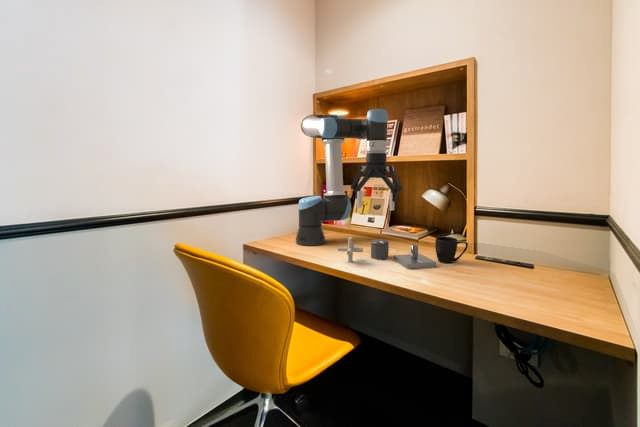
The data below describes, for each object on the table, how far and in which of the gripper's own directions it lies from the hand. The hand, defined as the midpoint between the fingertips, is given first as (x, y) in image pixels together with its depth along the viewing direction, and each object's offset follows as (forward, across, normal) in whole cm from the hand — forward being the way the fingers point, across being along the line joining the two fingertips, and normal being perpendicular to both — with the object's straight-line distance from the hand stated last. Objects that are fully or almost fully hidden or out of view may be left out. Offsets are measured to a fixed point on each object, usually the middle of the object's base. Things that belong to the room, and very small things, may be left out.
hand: (375, 208), depth 122 cm
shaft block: (+22, +12, +10) cm, 28 cm away
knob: (+22, -2, +11) cm, 25 cm away
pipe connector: (+22, -10, -2) cm, 25 cm away
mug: (+22, +24, +20) cm, 39 cm away
